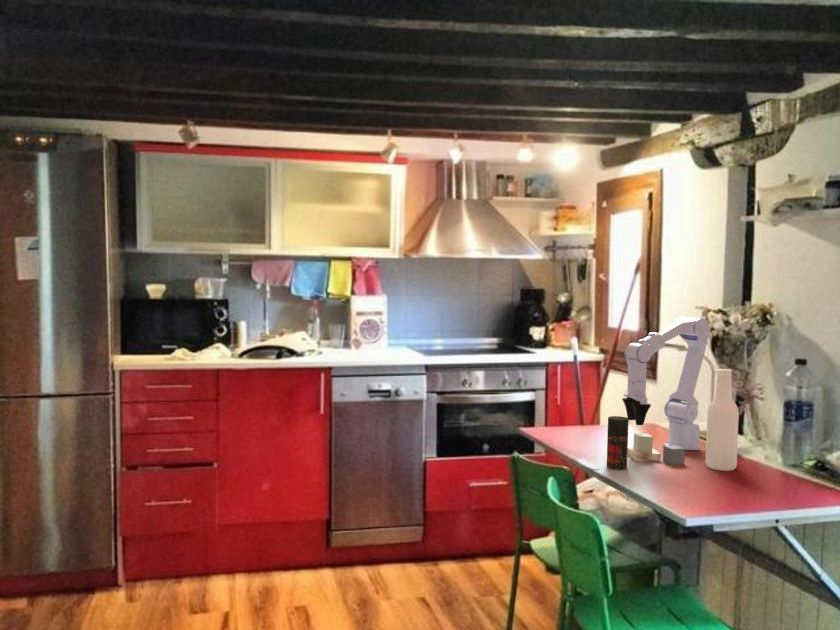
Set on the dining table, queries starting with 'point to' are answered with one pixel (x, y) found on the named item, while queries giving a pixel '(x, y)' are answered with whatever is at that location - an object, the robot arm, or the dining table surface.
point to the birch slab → (644, 455)
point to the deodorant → (617, 442)
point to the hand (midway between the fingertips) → (635, 422)
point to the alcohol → (722, 426)
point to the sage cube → (643, 442)
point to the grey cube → (673, 454)
